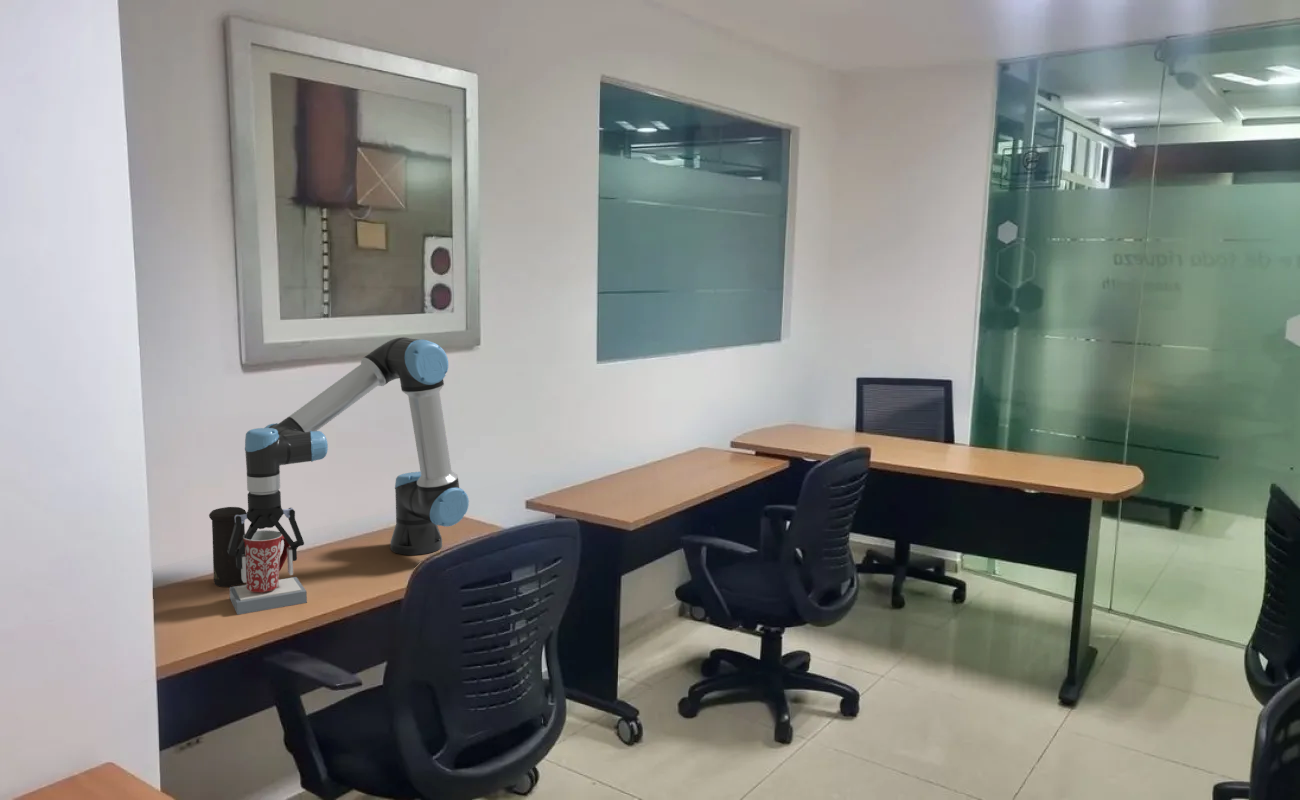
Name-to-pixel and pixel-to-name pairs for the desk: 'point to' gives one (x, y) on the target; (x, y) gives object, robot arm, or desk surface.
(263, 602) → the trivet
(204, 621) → the desk surface
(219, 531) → the container
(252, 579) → the mug
